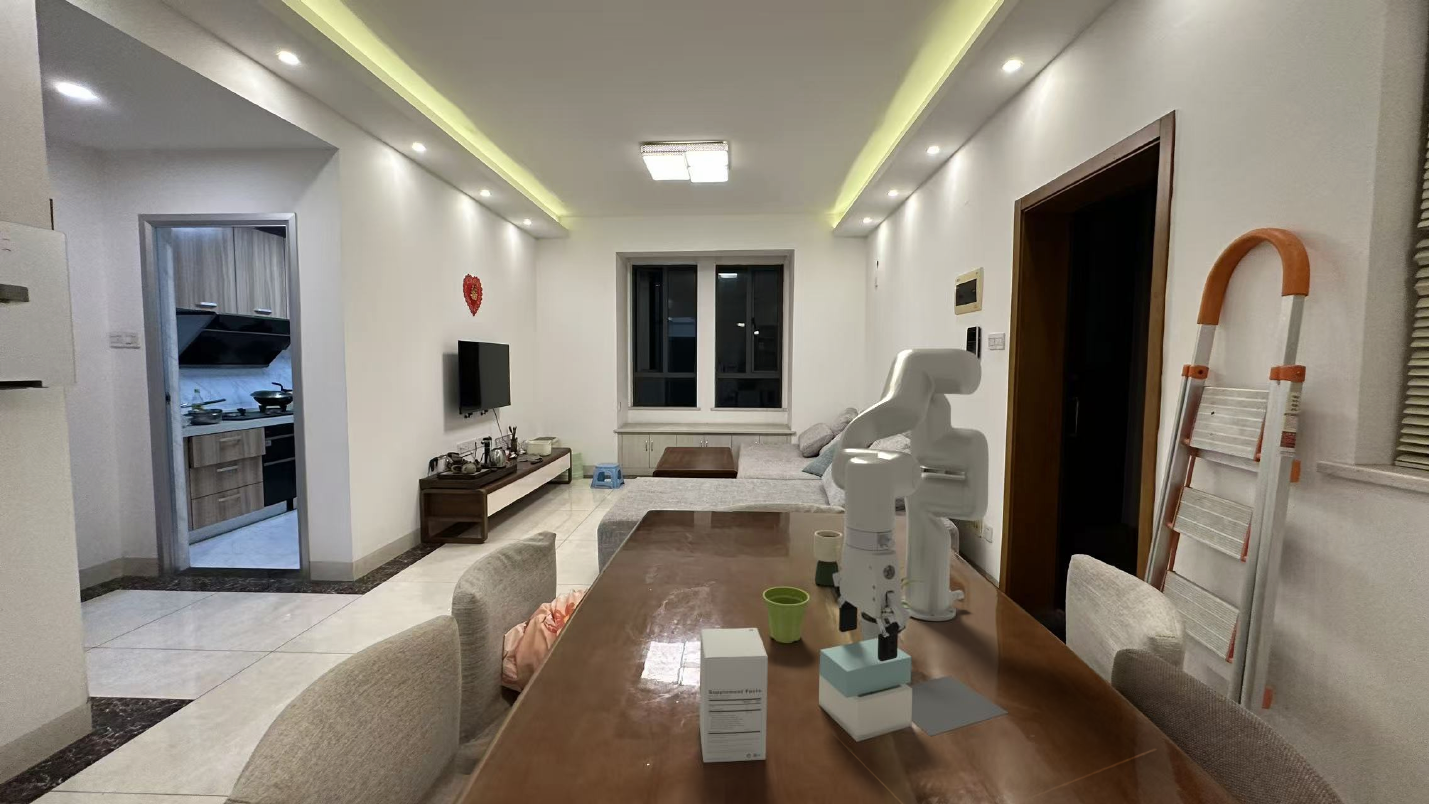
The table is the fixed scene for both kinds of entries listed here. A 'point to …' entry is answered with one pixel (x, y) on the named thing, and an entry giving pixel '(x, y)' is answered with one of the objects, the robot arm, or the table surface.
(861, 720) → the white open-top box
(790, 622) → the plant pot
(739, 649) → the supplement box
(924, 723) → the mat
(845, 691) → the teal rectangular block
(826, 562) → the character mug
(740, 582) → the table surface
